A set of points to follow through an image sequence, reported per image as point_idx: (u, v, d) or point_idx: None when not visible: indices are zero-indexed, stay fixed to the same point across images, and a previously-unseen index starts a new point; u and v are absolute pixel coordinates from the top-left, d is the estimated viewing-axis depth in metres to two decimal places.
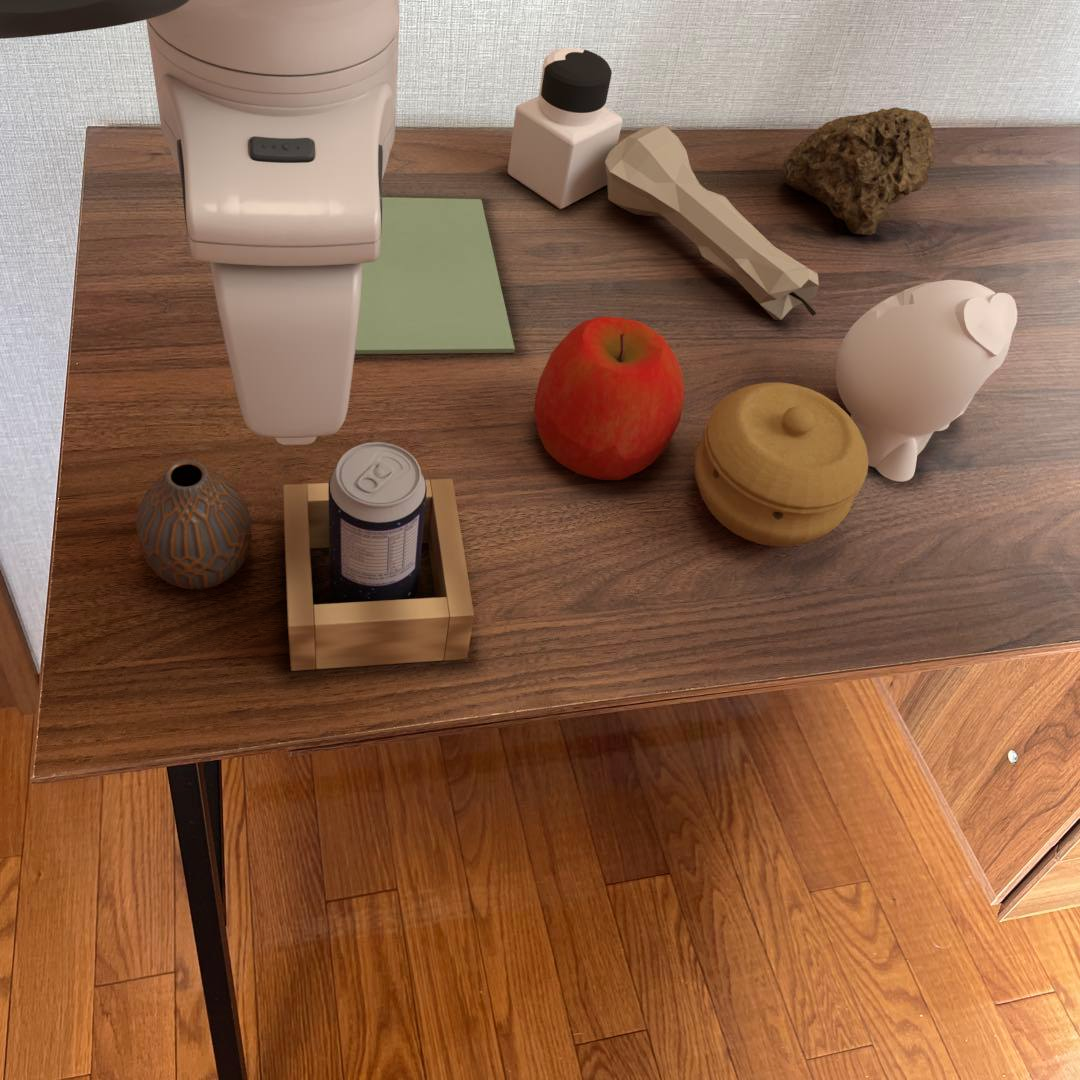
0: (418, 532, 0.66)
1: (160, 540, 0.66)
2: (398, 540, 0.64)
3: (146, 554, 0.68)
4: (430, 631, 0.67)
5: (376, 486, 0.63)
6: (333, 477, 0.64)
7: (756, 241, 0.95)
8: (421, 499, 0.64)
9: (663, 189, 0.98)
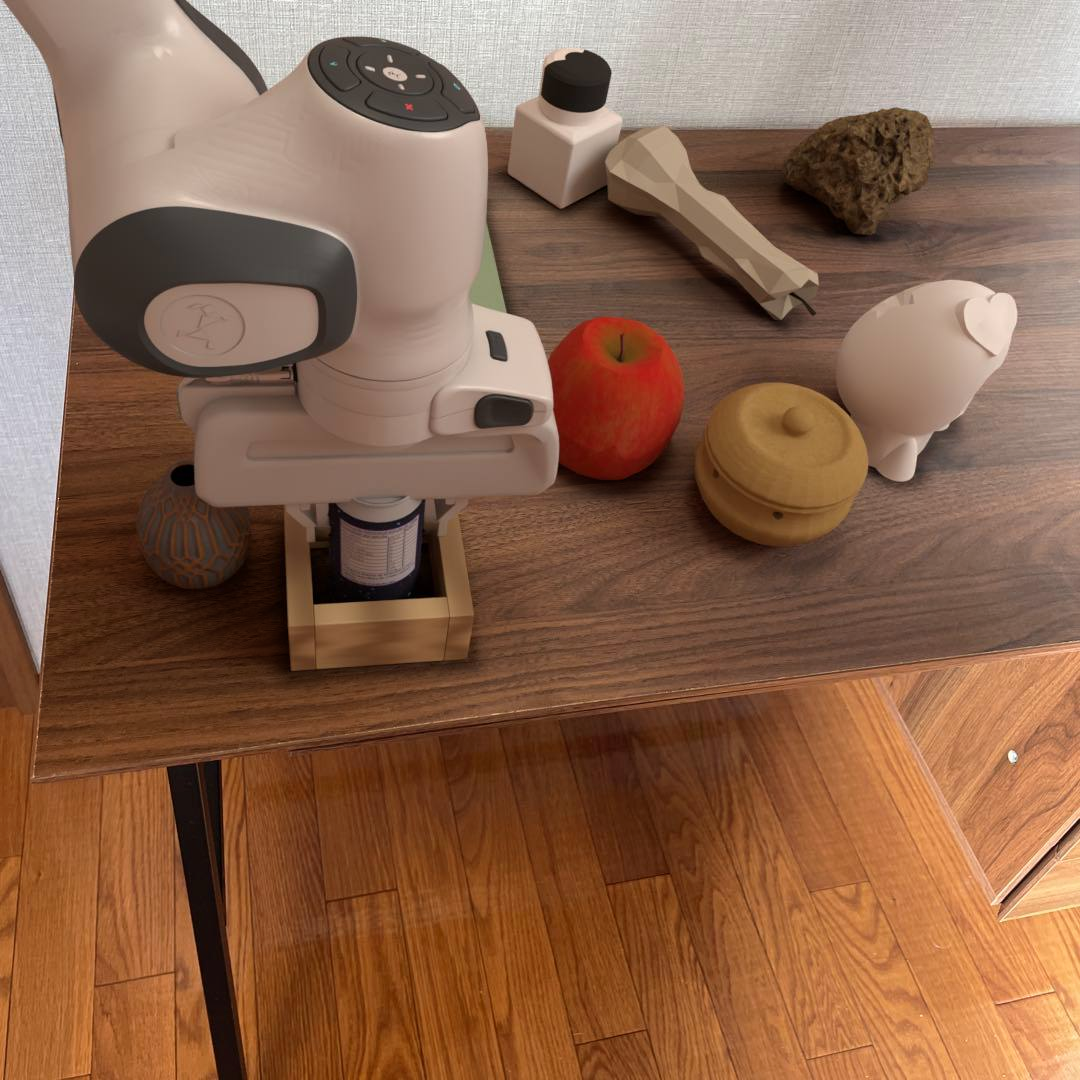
0: (418, 532, 0.66)
1: (160, 540, 0.66)
2: (398, 540, 0.64)
3: (146, 554, 0.68)
4: (430, 631, 0.67)
5: None
6: None
7: (756, 241, 0.95)
8: None
9: (663, 189, 0.98)
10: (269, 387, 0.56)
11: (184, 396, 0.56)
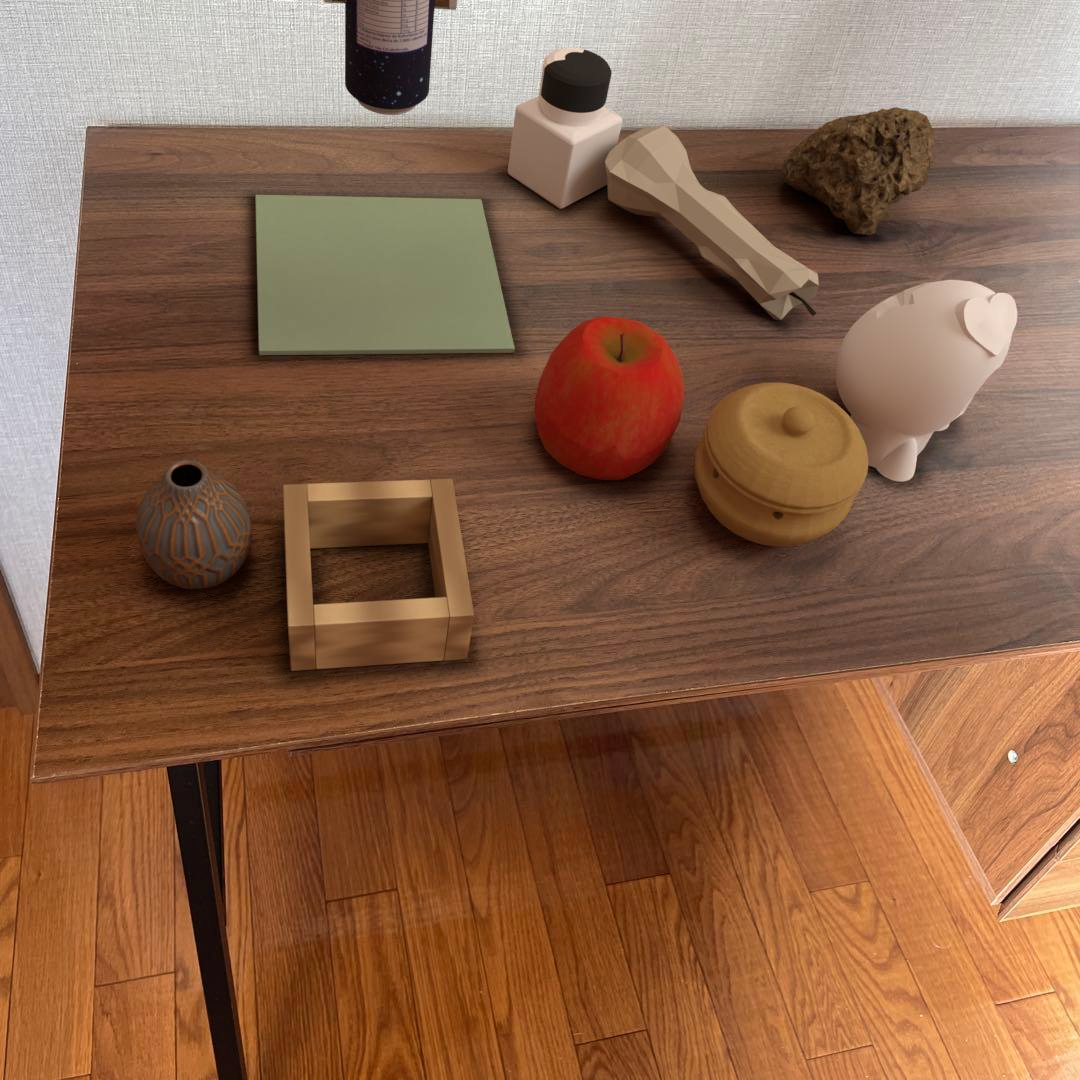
0: None
1: (160, 540, 0.66)
2: None
3: (146, 554, 0.68)
4: (430, 631, 0.67)
5: None
6: None
7: (756, 241, 0.95)
8: None
9: (663, 190, 0.98)
10: None
11: None
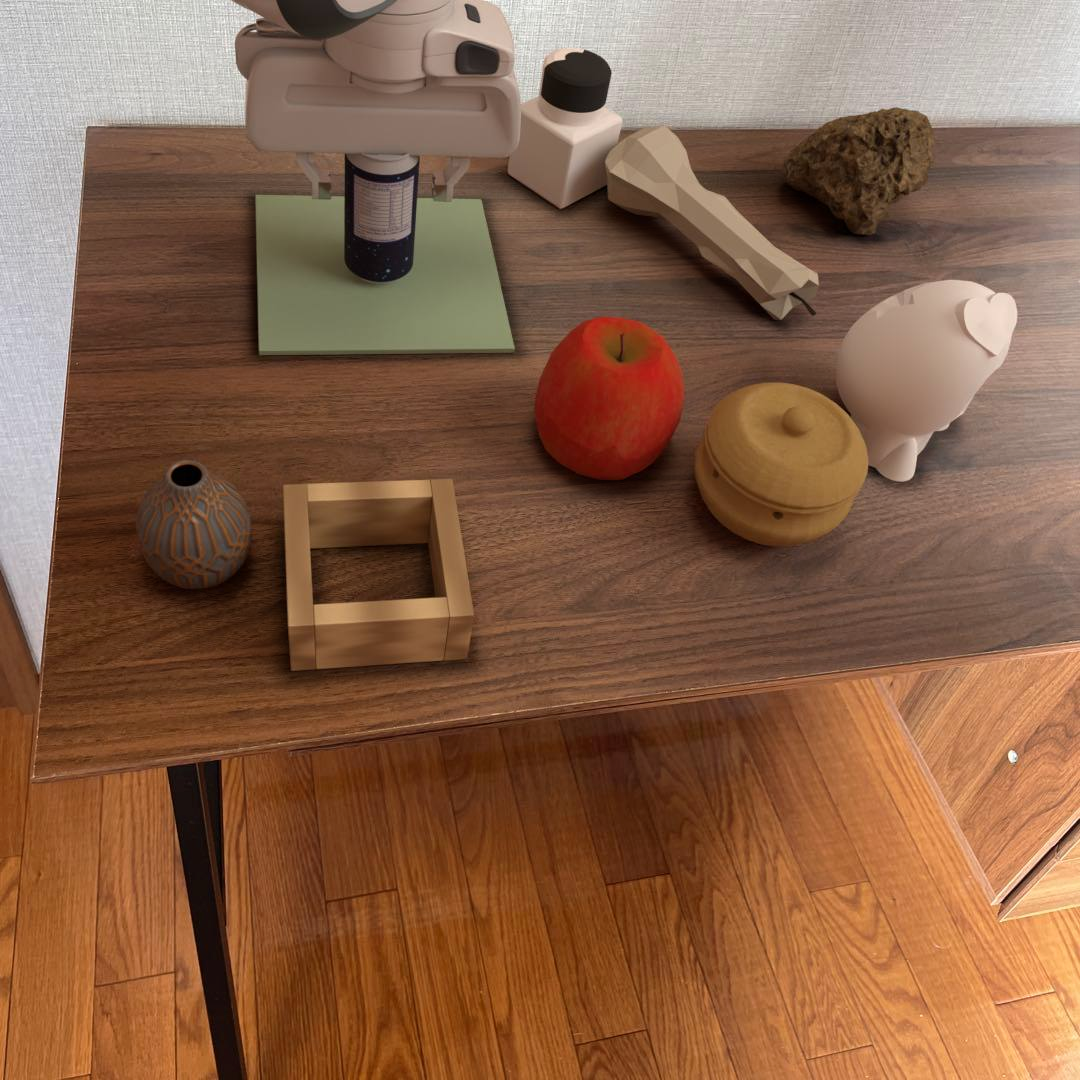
0: (413, 195, 0.86)
1: (160, 540, 0.66)
2: (398, 195, 0.84)
3: (146, 554, 0.68)
4: (430, 631, 0.67)
5: None
6: None
7: (756, 241, 0.95)
8: (415, 162, 0.84)
9: (663, 190, 0.98)
10: (303, 40, 0.76)
11: (240, 44, 0.76)
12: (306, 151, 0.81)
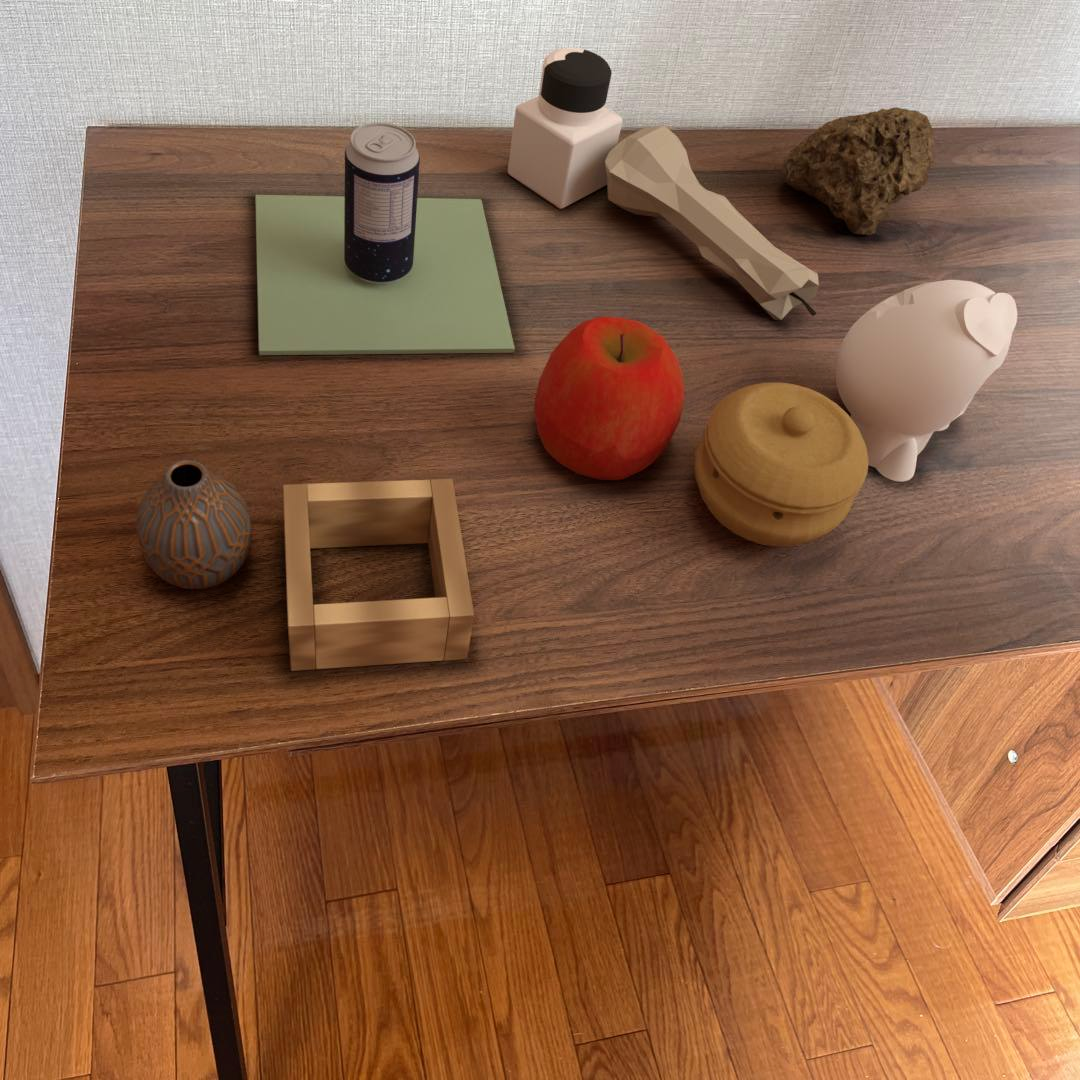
0: (413, 195, 0.86)
1: (160, 540, 0.66)
2: (398, 195, 0.84)
3: (146, 554, 0.68)
4: (430, 631, 0.67)
5: (381, 148, 0.83)
6: (348, 145, 0.84)
7: (756, 241, 0.95)
8: (415, 162, 0.84)
9: (663, 190, 0.98)
10: None
11: None
12: None
